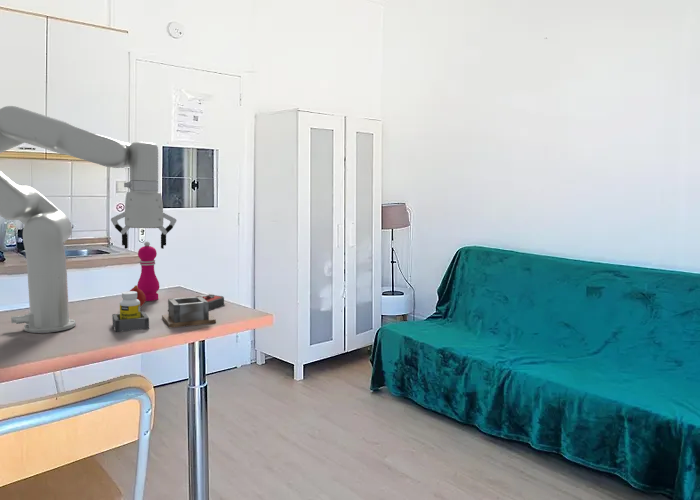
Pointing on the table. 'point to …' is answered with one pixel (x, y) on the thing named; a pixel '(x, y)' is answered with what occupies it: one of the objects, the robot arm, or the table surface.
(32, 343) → the table surface
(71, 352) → the table surface
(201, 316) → the socket
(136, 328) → the frame
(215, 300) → the walkie-talkie
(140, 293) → the onion
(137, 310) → the supplement bottle
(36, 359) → the table surface
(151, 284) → the pepper mill
